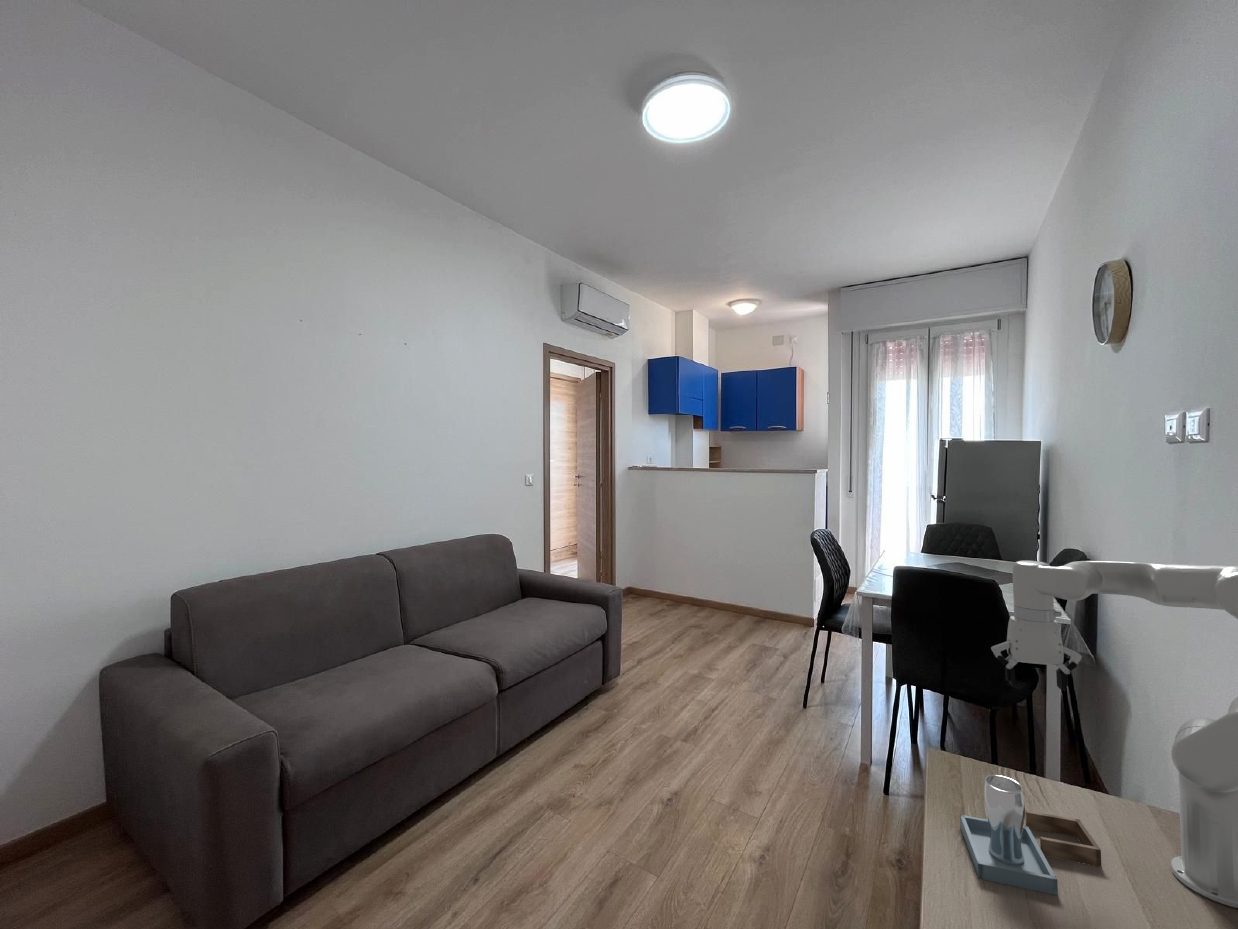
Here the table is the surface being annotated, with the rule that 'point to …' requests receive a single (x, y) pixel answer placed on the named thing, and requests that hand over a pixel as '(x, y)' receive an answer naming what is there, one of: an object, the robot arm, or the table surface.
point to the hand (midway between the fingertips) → (1036, 686)
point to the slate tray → (1025, 875)
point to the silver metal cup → (1005, 818)
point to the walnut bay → (1063, 849)
